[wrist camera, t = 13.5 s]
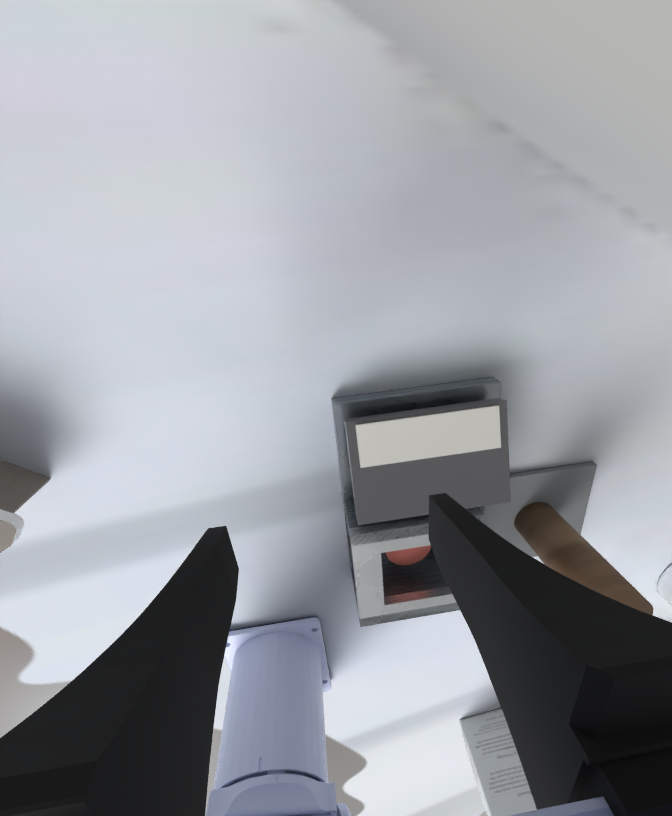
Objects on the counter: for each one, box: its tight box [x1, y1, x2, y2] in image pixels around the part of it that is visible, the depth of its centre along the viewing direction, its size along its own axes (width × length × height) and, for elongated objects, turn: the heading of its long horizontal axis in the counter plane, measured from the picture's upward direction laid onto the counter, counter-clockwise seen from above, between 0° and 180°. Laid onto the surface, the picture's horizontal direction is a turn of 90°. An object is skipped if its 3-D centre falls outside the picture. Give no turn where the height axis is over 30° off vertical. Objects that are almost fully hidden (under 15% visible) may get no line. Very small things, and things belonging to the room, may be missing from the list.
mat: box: [481, 462, 597, 557], centre depth 26 cm, size 8×8×1 cm
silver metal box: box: [331, 377, 501, 627], centre depth 23 cm, size 15×10×4 cm, turn 6°
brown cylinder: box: [514, 502, 653, 615], centre depth 23 cm, size 3×3×8 cm
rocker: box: [344, 398, 511, 525], centre depth 20 cm, size 6×9×1 cm, turn 96°
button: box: [386, 545, 431, 565], centre depth 25 cm, size 3×3×2 cm
